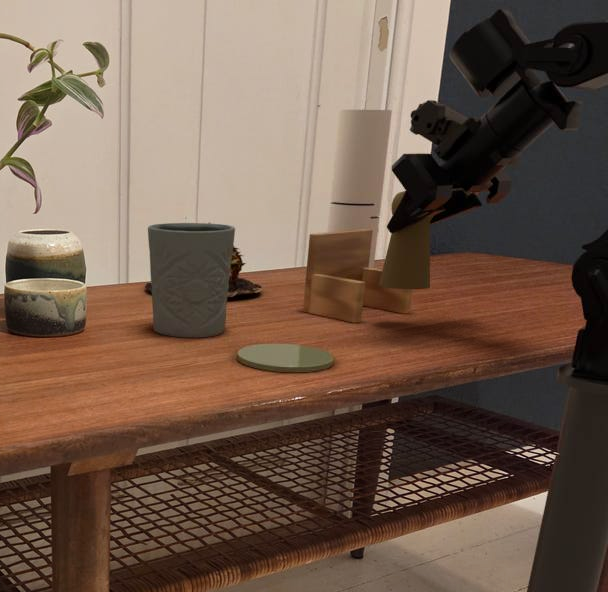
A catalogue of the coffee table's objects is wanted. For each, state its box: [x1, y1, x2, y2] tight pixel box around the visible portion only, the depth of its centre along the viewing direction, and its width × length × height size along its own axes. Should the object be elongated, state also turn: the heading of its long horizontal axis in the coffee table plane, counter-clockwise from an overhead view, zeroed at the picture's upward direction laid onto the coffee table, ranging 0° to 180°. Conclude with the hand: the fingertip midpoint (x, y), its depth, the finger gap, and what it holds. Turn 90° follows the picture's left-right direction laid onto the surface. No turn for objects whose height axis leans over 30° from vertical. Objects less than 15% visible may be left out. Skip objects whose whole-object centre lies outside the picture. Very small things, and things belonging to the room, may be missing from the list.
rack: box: [302, 229, 414, 324], centre depth 115 cm, size 9×11×10 cm
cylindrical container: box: [327, 109, 393, 268], centre depth 128 cm, size 7×7×25 cm
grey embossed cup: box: [147, 222, 236, 338], centre depth 104 cm, size 10×10×12 cm
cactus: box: [144, 221, 263, 298], centre depth 128 cm, size 17×16×10 cm
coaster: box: [236, 343, 335, 374], centre depth 93 cm, size 10×10×1 cm
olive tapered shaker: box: [379, 190, 434, 290], centre depth 105 cm, size 6×6×11 cm
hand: (400, 228), depth 106 cm, fingers closed on olive tapered shaker, 5 cm apart
